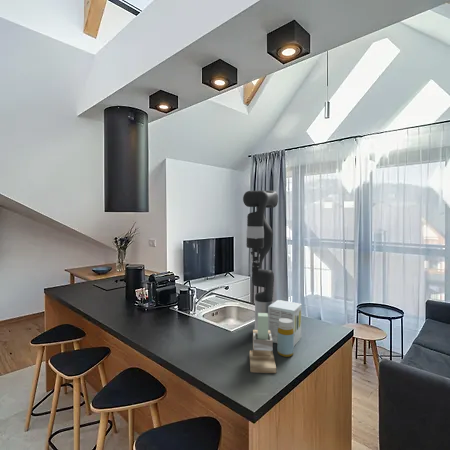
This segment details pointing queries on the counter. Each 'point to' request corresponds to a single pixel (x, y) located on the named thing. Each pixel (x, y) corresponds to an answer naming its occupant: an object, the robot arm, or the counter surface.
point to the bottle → (285, 337)
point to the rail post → (263, 326)
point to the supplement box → (284, 311)
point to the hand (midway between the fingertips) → (254, 273)
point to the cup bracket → (262, 355)
